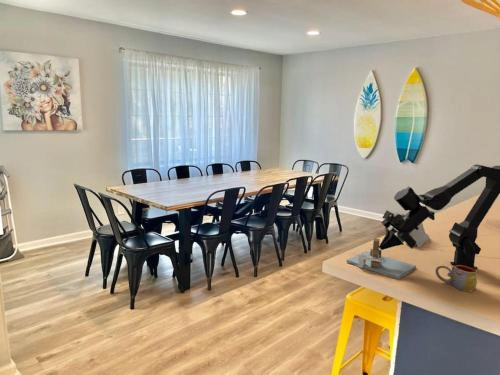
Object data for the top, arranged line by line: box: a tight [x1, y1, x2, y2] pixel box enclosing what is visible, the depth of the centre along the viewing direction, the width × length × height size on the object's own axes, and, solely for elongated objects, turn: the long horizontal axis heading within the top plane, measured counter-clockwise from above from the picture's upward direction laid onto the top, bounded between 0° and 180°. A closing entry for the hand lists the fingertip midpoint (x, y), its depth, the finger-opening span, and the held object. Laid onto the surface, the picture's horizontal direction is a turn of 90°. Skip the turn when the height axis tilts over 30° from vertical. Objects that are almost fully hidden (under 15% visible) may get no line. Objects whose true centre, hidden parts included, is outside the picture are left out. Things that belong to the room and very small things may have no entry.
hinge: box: [405, 222, 430, 249], centre depth 164 cm, size 17×5×10 cm, turn 140°
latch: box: [369, 238, 382, 268], centre depth 137 cm, size 14×4×8 cm, turn 160°
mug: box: [434, 265, 478, 293], centre depth 121 cm, size 12×7×7 cm, turn 50°
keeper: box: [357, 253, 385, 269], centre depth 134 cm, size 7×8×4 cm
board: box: [346, 250, 417, 280], centre depth 137 cm, size 20×14×1 cm
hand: (380, 248), depth 135 cm, fingers closed
